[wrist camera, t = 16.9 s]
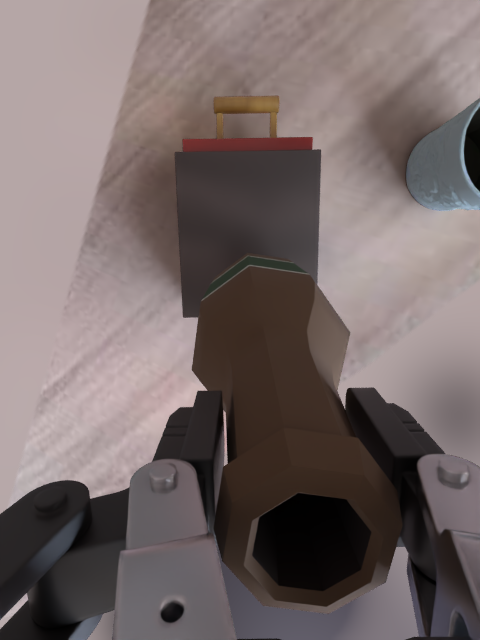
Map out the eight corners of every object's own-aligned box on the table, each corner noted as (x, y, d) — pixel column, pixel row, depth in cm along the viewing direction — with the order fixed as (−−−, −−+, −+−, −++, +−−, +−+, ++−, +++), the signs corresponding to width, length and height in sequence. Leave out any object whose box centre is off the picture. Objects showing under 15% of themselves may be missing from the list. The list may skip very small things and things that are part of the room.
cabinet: (188, 169, 42) (174, 151, 33) (302, 167, 42) (321, 149, 33) (194, 300, 45) (182, 317, 36) (300, 298, 45) (316, 315, 36)
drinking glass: (383, 196, 43) (438, 182, 31) (424, 103, 41) (499, 51, 29) (463, 229, 44) (546, 227, 32) (507, 139, 42) (613, 103, 30)
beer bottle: (191, 316, 30) (24, 609, 7) (241, 230, 29) (237, 246, 6) (274, 363, 31) (364, 761, 8) (327, 283, 30) (633, 488, 6)
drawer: (191, 113, 40) (179, 85, 33) (299, 111, 40) (313, 83, 33) (197, 281, 44) (189, 291, 36) (296, 280, 44) (308, 290, 36)
